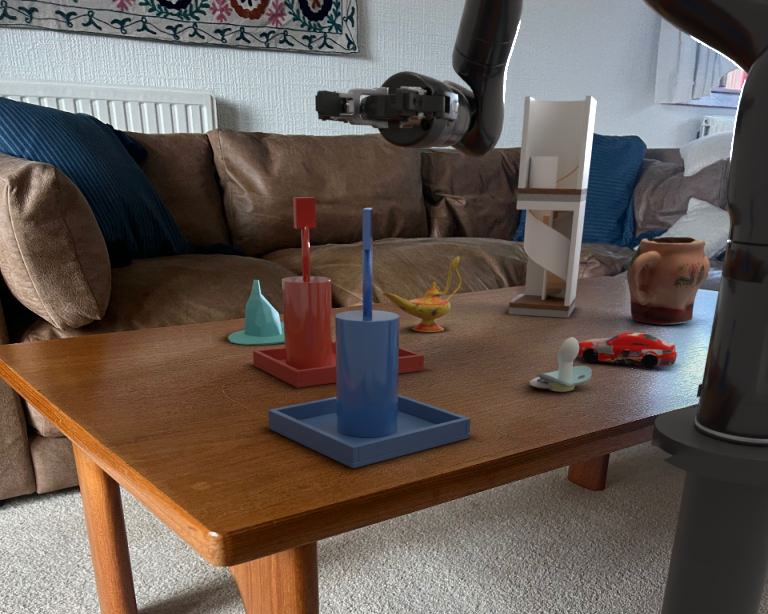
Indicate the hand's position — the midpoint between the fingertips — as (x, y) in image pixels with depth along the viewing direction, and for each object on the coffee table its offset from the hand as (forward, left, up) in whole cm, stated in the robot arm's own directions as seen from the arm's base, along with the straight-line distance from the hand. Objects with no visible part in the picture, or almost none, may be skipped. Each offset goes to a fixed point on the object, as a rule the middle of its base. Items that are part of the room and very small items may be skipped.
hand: (358, 101), depth 76 cm
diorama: (+30, -27, -30) cm, 50 cm away
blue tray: (-7, +10, -30) cm, 32 cm away
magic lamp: (+12, -41, -30) cm, 52 cm away
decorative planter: (-20, -69, -30) cm, 78 cm away
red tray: (+10, -12, -30) cm, 34 cm away
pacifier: (-18, -17, -30) cm, 39 cm away
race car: (-22, -35, -30) cm, 51 cm away
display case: (+1, -70, -30) cm, 76 cm away
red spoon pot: (+12, -8, -30) cm, 33 cm away
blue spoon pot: (-7, +10, -30) cm, 32 cm away
